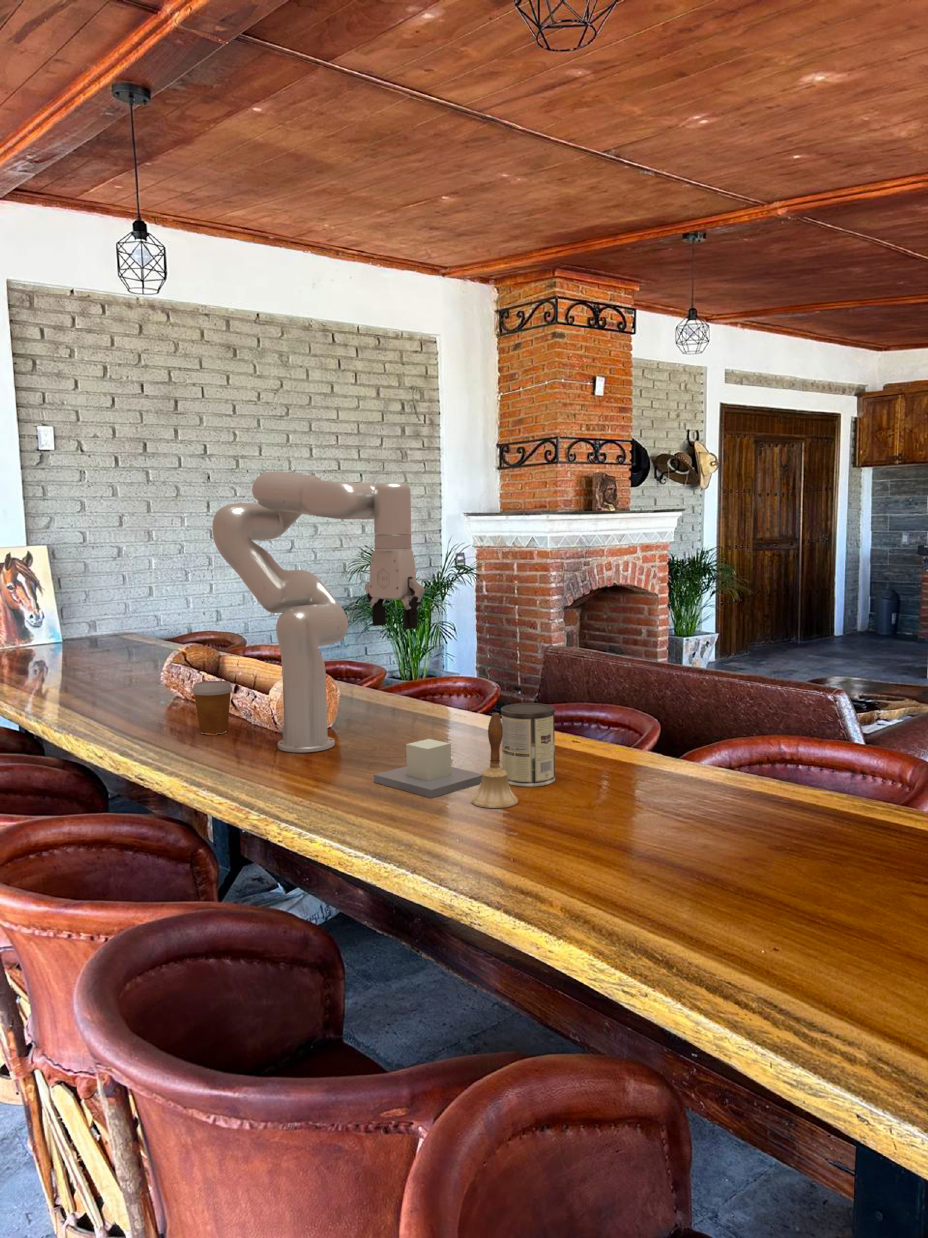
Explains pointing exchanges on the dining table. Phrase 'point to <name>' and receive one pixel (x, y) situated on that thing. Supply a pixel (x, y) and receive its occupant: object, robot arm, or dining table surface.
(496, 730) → the hand bell
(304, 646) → the robot arm
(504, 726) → the coffee can
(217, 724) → the disposable coffee cup
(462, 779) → the slate board
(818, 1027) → the dining table surface
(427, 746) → the cube
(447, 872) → the dining table surface
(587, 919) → the dining table surface
